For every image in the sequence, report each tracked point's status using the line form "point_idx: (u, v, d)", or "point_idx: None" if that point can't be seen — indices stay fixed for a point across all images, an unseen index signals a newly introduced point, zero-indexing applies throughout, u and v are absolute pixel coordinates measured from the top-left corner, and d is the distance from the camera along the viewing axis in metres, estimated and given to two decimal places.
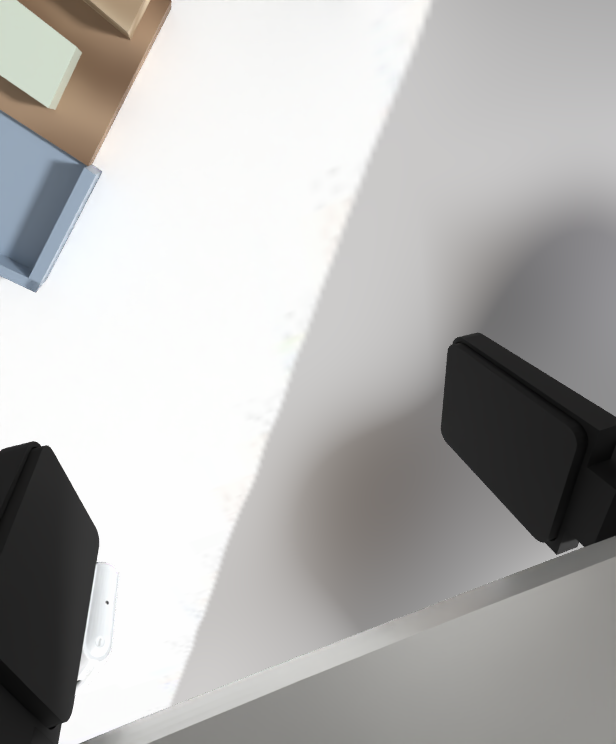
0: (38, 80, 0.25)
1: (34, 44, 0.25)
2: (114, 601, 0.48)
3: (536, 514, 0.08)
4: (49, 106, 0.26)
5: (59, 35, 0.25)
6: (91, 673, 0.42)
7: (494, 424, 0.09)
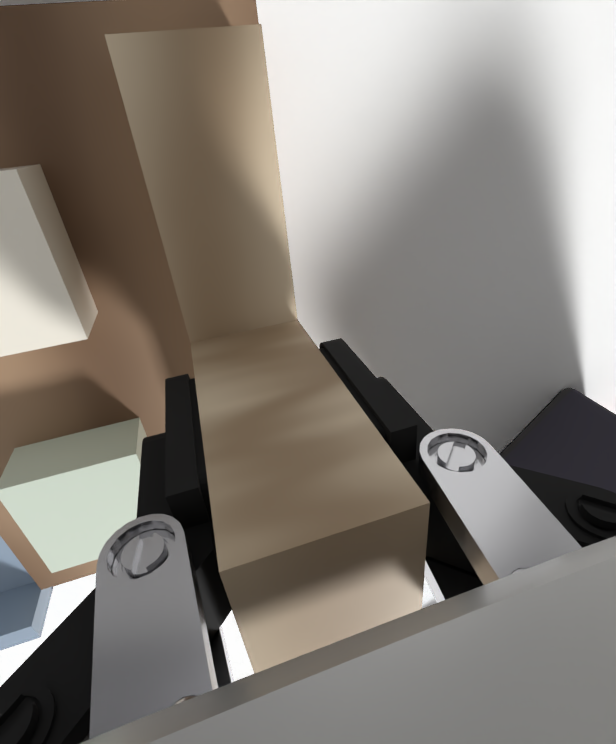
0: (73, 545, 0.14)
1: (113, 514, 0.14)
2: None
3: None
4: None
5: None
6: None
7: None
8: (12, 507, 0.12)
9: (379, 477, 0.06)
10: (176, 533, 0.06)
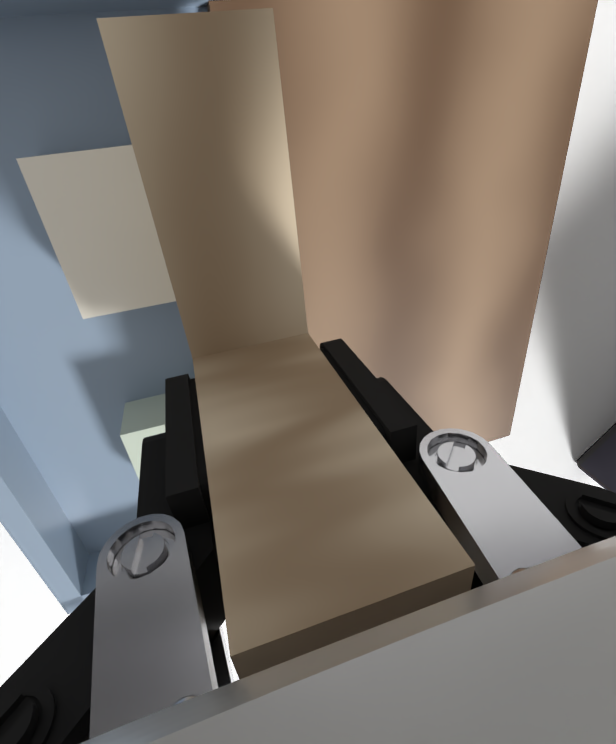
0: None
1: None
2: None
3: None
4: None
5: None
6: None
7: None
8: (132, 451, 0.14)
9: (413, 530, 0.05)
10: (176, 533, 0.06)
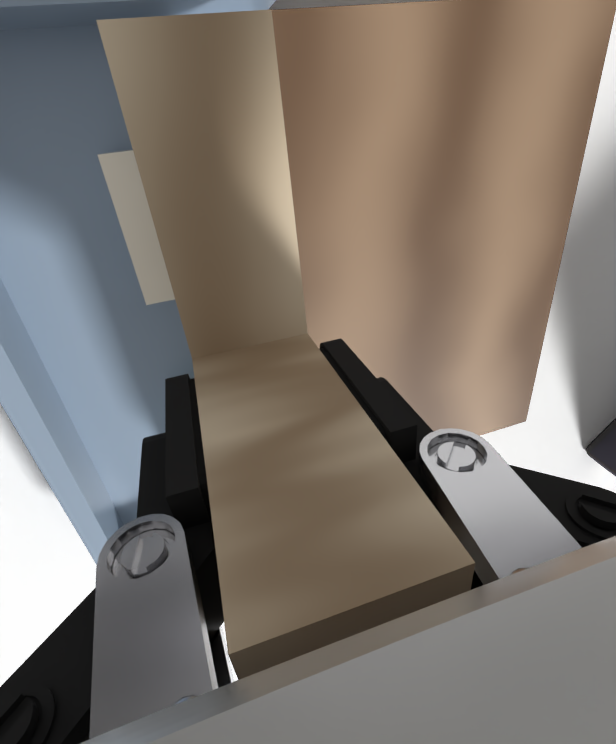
0: None
1: None
2: None
3: None
4: None
5: None
6: None
7: None
8: None
9: (412, 528, 0.05)
10: (176, 533, 0.06)
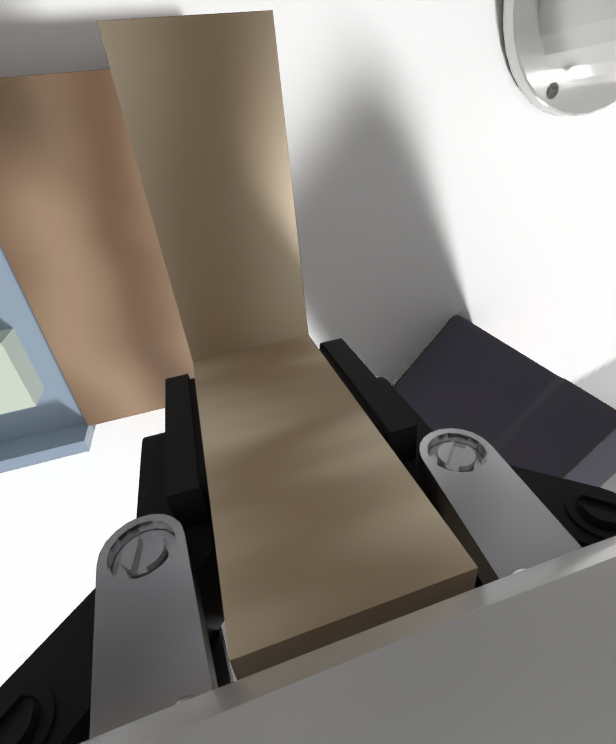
0: None
1: None
2: None
3: None
4: None
5: (26, 392, 0.23)
6: None
7: None
8: None
9: (414, 532, 0.05)
10: (176, 533, 0.06)
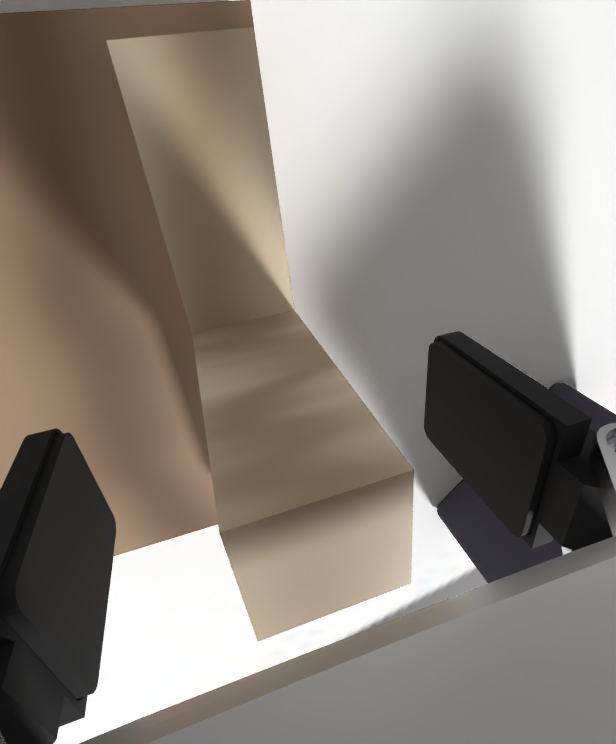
0: None
1: None
2: None
3: (511, 509, 0.08)
4: None
5: None
6: None
7: (472, 421, 0.09)
8: None
9: (368, 449, 0.07)
10: None
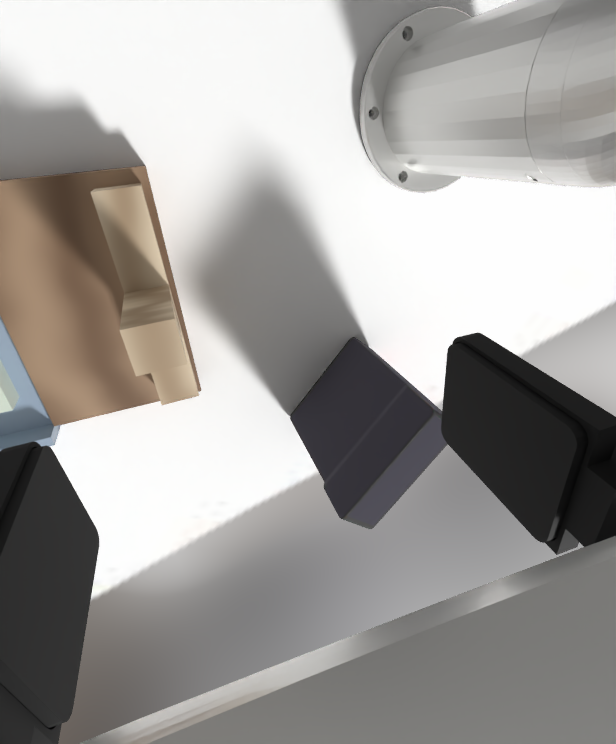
0: None
1: None
2: None
3: (536, 514, 0.08)
4: None
5: (5, 400, 0.30)
6: None
7: (494, 424, 0.09)
8: None
9: (166, 316, 0.24)
10: None
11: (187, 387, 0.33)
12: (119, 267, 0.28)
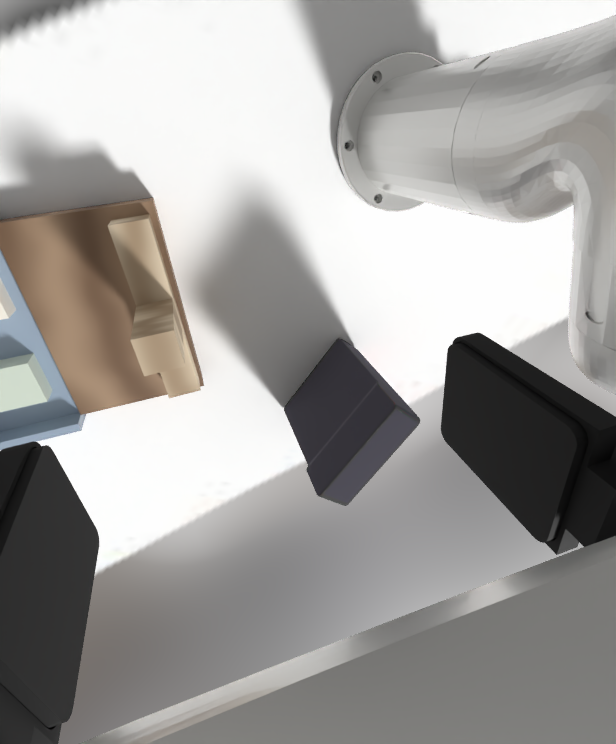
0: (6, 400, 0.36)
1: (21, 388, 0.36)
2: None
3: (536, 514, 0.08)
4: (0, 411, 0.37)
5: (41, 393, 0.37)
6: None
7: (494, 424, 0.09)
8: None
9: (167, 327, 0.30)
10: None
11: (190, 383, 0.39)
12: (131, 285, 0.34)
